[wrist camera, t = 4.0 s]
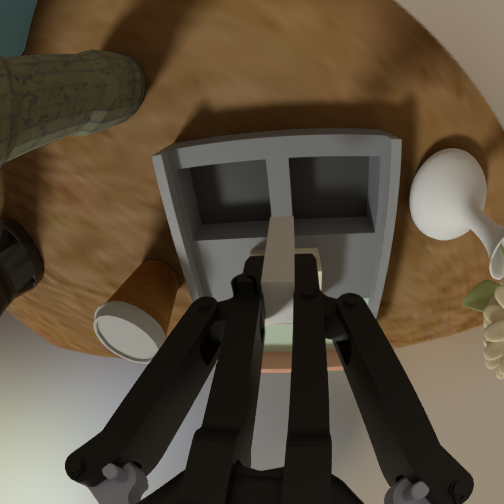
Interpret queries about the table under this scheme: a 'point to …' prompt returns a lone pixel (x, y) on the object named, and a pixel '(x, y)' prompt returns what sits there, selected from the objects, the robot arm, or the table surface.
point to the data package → (15, 25)
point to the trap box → (284, 211)
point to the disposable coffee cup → (139, 313)
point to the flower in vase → (458, 223)
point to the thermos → (64, 97)
